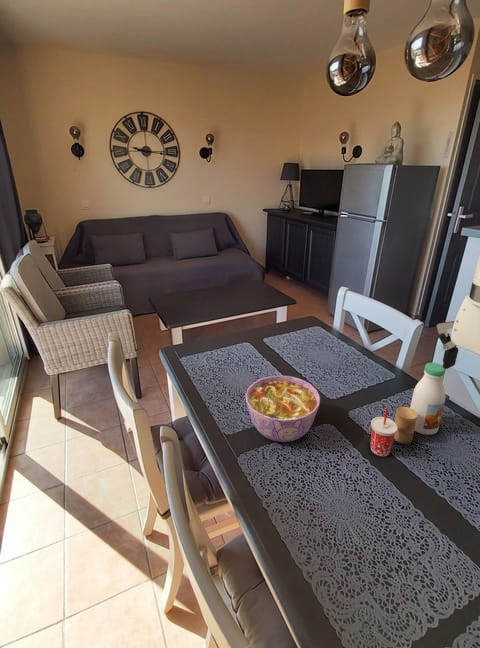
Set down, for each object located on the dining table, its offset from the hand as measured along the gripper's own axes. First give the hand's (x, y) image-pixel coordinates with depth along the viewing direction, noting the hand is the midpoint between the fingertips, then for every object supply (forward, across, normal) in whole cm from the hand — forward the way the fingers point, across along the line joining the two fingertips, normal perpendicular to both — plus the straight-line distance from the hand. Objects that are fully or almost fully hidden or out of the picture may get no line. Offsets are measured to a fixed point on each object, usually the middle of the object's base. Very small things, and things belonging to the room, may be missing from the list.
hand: (472, 377), depth 70 cm
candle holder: (+30, +15, -6) cm, 35 cm away
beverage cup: (+31, +15, +2) cm, 34 cm away
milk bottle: (+31, +15, -15) cm, 37 cm away
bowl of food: (+31, +36, +18) cm, 50 cm away
